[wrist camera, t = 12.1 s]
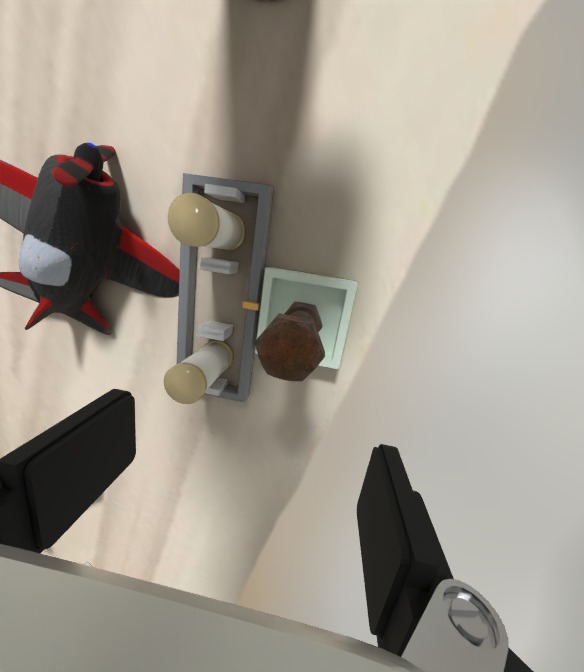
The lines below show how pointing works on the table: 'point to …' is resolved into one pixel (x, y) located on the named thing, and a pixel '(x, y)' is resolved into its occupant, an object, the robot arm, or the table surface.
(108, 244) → the toy airplane
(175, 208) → the ball
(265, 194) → the block
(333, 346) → the tray
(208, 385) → the fuse outer
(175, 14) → the table surface
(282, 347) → the bolt
